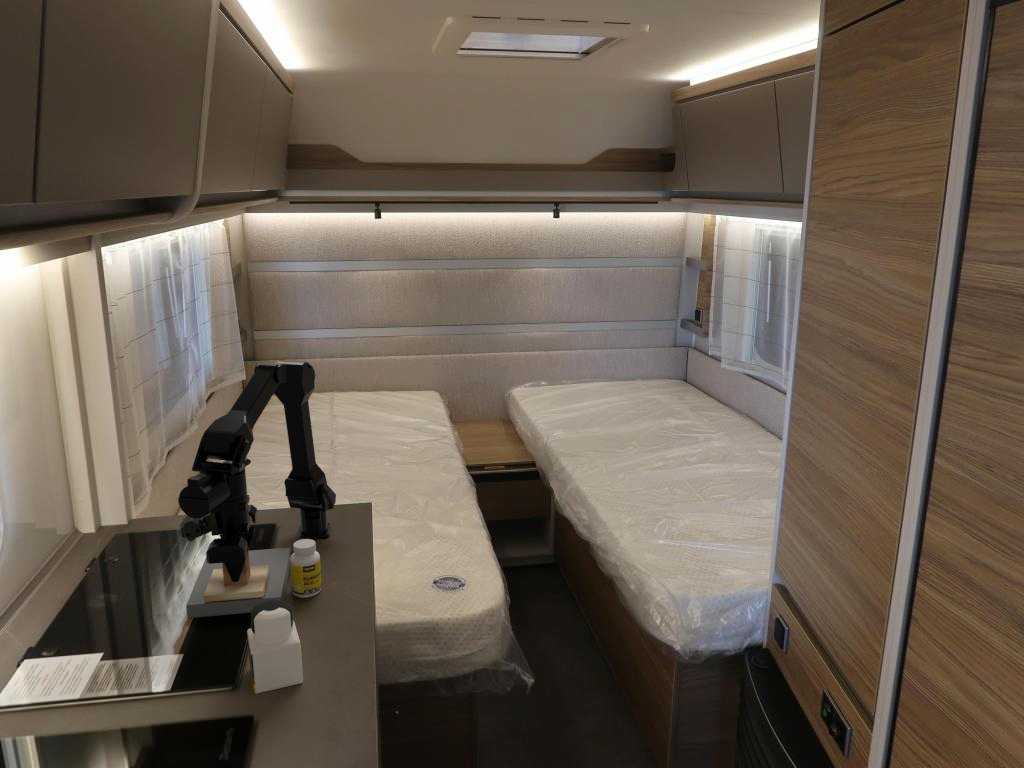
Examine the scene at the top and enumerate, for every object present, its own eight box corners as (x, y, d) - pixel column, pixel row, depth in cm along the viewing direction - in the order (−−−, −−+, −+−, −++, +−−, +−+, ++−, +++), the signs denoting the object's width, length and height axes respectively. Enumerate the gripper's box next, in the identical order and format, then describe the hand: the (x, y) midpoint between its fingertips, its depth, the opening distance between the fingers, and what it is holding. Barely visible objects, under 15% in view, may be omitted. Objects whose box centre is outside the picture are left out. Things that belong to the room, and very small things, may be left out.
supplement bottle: (304, 601, 142) (301, 552, 140) (286, 592, 145) (282, 544, 143) (327, 590, 146) (325, 542, 144) (309, 581, 149) (306, 534, 147)
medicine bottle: (250, 668, 122) (244, 600, 119) (296, 658, 125) (291, 591, 122) (254, 695, 116) (248, 623, 113) (303, 683, 119) (298, 613, 116)
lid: (214, 575, 146) (211, 544, 144) (269, 570, 148) (267, 540, 146) (204, 602, 136) (200, 570, 135) (263, 597, 138) (260, 565, 137)
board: (208, 565, 155) (207, 553, 155) (291, 558, 158) (290, 547, 158) (187, 618, 136) (186, 605, 136) (281, 609, 139) (280, 597, 139)
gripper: (192, 479, 145) (200, 555, 149) (169, 520, 127) (179, 606, 131) (255, 475, 147) (261, 551, 151) (240, 515, 129) (248, 600, 133)
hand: (237, 575), depth 141 cm, fingers closed on lid, 4 cm apart
